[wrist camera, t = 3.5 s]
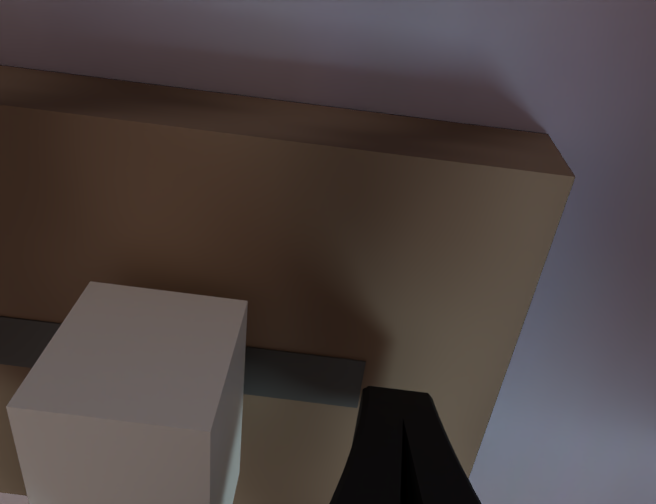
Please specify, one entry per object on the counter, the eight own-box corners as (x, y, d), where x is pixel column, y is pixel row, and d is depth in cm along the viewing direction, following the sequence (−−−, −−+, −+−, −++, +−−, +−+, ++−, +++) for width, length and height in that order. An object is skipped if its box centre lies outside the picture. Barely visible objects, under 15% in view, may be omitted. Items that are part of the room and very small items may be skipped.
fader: (251, 288, 12) (210, 432, 9) (242, 458, 15) (208, 613, 12) (98, 269, 12) (5, 407, 9) (117, 442, 15) (50, 594, 12)
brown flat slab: (547, 134, 13) (575, 177, 11) (437, 483, 18) (444, 547, 17) (-445, 9, 12) (-577, 33, 11) (-237, 400, 18) (-300, 456, 17)
